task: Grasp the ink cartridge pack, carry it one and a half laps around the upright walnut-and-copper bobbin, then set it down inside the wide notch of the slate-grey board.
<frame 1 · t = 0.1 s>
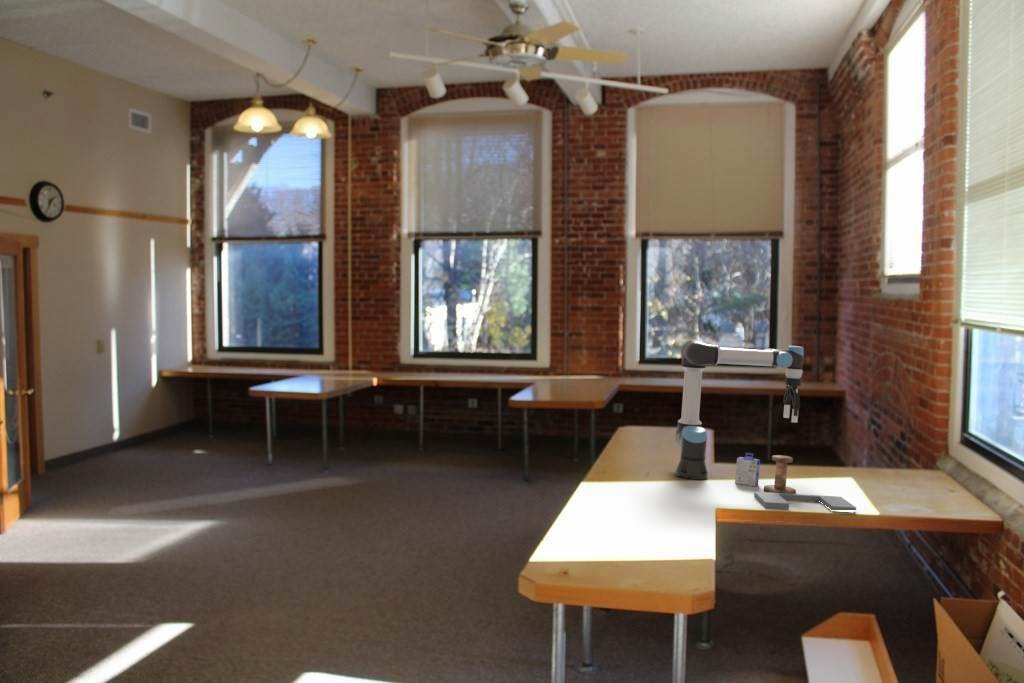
hand: (790, 420, 430), 28 cm above the table, fingers open, 13 cm apart
ink cartridge box: (746, 484, 409), on the table
notched board: (803, 505, 375), on the table
bobbin: (779, 491, 397), on the table
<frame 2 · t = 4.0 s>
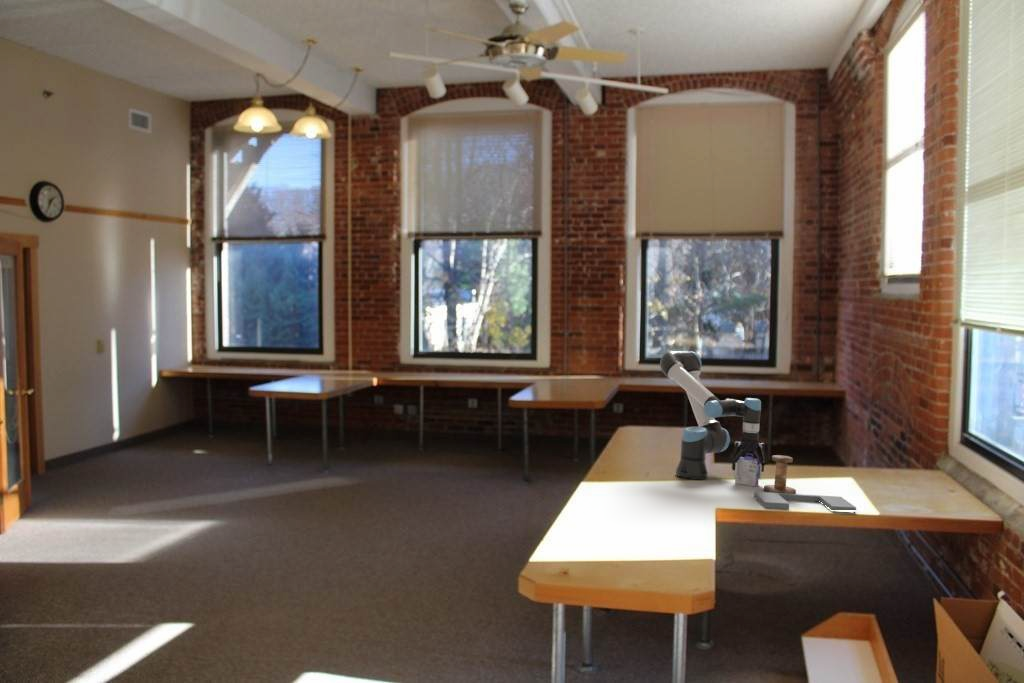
hand: (747, 477, 409), 3 cm above the table, fingers closed on ink cartridge box, 11 cm apart
ink cartridge box: (746, 484, 409), on the table, touching gripper
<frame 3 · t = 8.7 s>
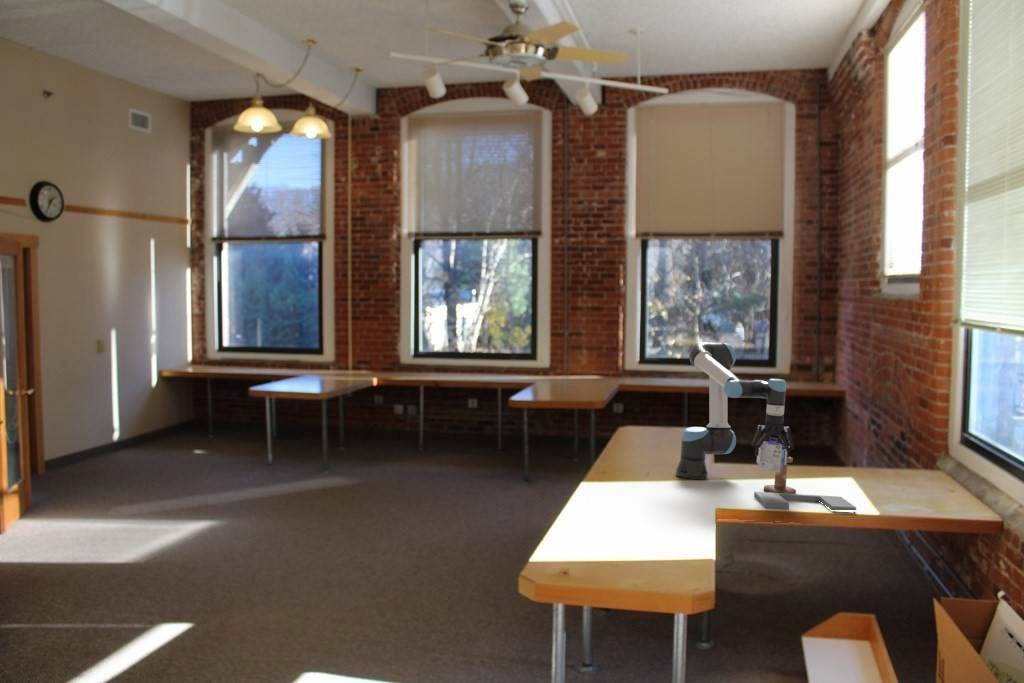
hand: (771, 463, 384), 15 cm above the table, fingers closed on ink cartridge box, 11 cm apart
ink cartridge box: (770, 470, 384), point 12 cm above the table, touching gripper
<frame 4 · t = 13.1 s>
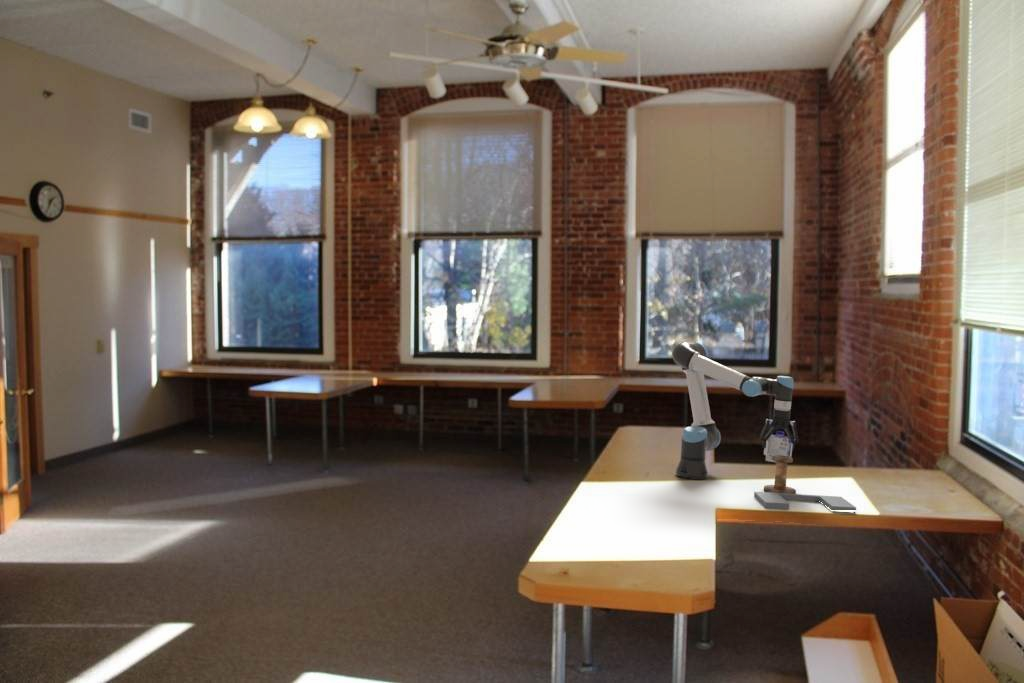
hand: (777, 455, 408), 14 cm above the table, fingers closed on ink cartridge box, 11 cm apart
ink cartridge box: (777, 462, 408), point 11 cm above the table, touching gripper
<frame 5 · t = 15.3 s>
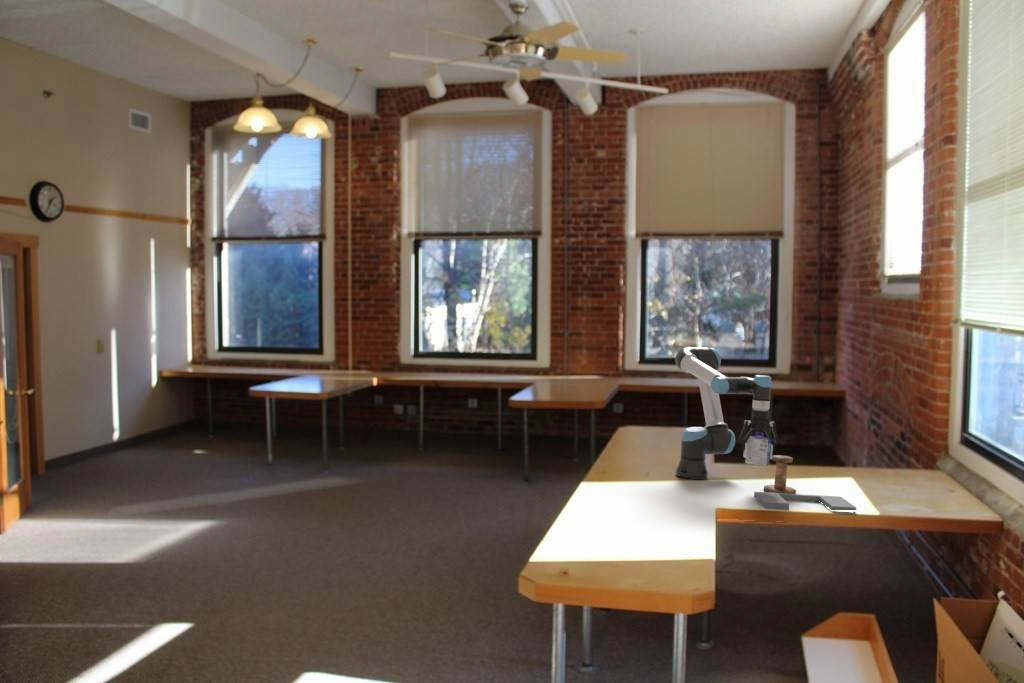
hand: (757, 458, 394), 15 cm above the table, fingers closed on ink cartridge box, 11 cm apart
ink cartridge box: (757, 464, 394), point 12 cm above the table, touching gripper
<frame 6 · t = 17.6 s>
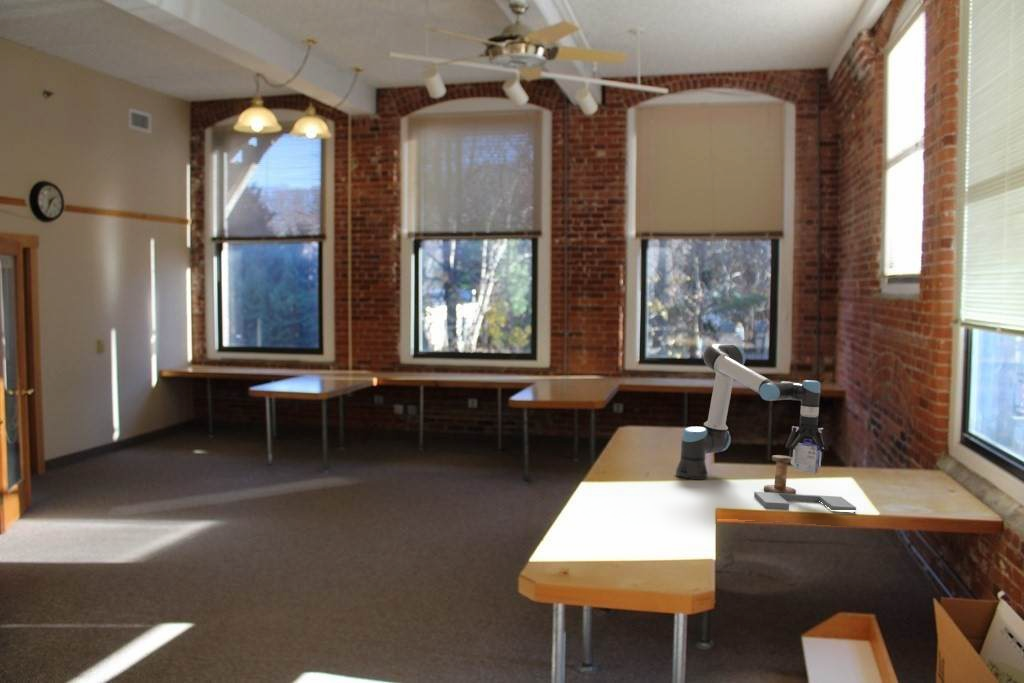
hand: (805, 465, 383), 15 cm above the table, fingers closed on ink cartridge box, 11 cm apart
ink cartridge box: (805, 472, 383), point 12 cm above the table, touching gripper
when the fingers open (4 cm above the table, at t = 21.9 s): ink cartridge box drops 2 cm, on the table.
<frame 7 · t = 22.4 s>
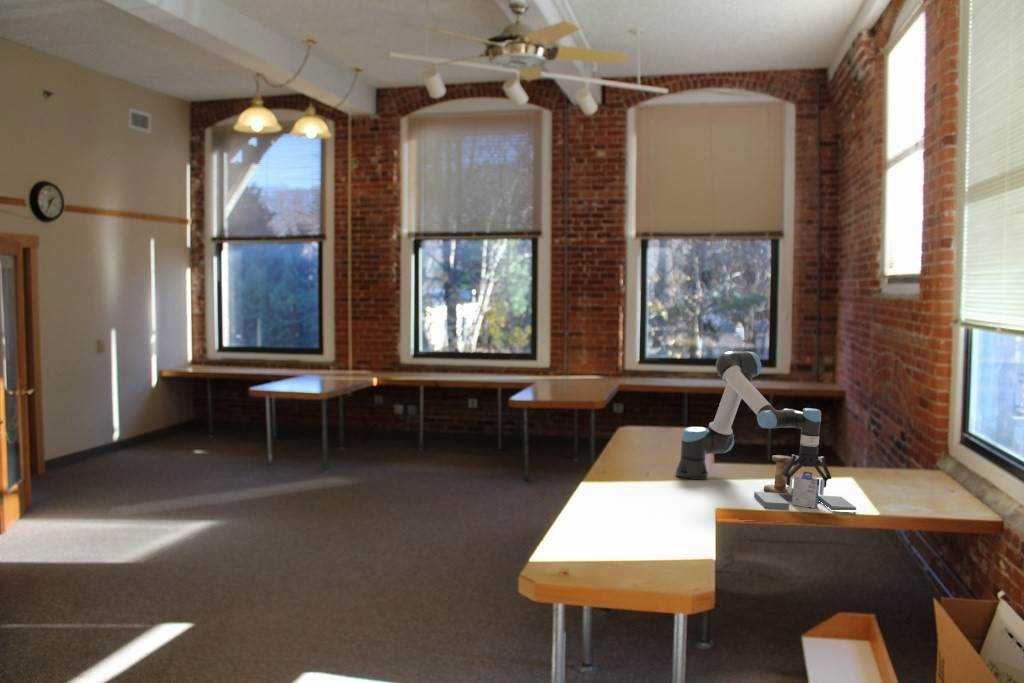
hand: (805, 493, 374), 5 cm above the table, fingers open, 13 cm apart
ink cartridge box: (804, 506, 374), on the table
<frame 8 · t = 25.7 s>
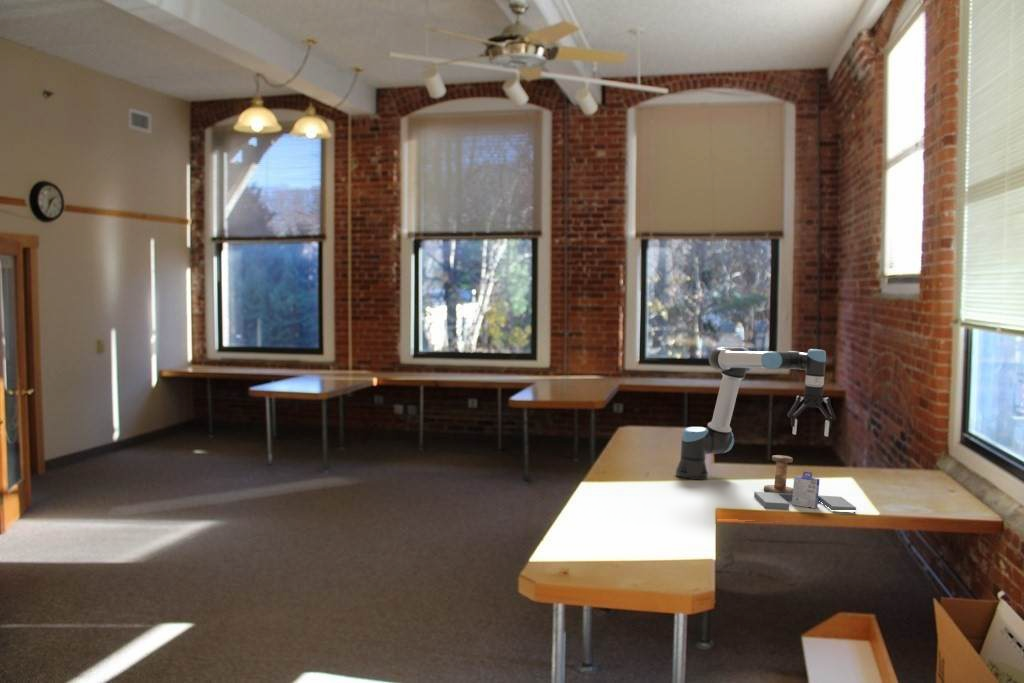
hand: (810, 435, 372), 31 cm above the table, fingers open, 13 cm apart
nothing on the table moved.
at the end: ink cartridge box inside the target area on the notched board (0.2 cm from its centre), point 0.0 cm above the notched board's base; ink cartridge box tilted 0°; the gripper is holding nothing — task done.
